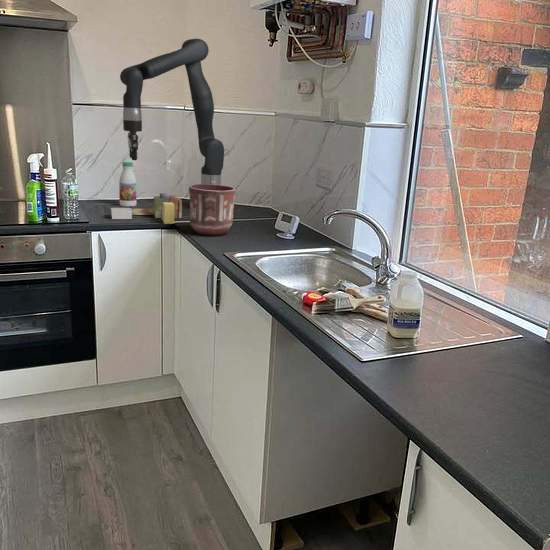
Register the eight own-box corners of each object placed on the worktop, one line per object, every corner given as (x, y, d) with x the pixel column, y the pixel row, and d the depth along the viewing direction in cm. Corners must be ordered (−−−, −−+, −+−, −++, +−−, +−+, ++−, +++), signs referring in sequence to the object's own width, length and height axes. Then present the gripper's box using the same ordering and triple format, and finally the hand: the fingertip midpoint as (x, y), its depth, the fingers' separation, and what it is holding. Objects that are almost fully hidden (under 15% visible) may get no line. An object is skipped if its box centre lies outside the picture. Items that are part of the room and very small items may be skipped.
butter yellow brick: (171, 221, 240) (172, 202, 238) (174, 223, 236) (174, 204, 234) (162, 221, 239) (162, 202, 237) (164, 223, 235) (164, 204, 232)
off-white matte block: (130, 217, 244) (130, 207, 242) (131, 220, 238) (131, 210, 237) (111, 217, 241) (111, 207, 240) (112, 220, 236) (111, 210, 235)
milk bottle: (118, 204, 269) (117, 161, 263) (134, 203, 272) (134, 161, 266) (121, 207, 262) (120, 163, 256) (138, 206, 265) (137, 163, 260)
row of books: (180, 215, 253) (180, 192, 250) (184, 218, 246) (184, 195, 243) (110, 215, 243) (110, 192, 240) (112, 219, 236) (111, 195, 233)
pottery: (196, 238, 213) (198, 190, 208) (182, 228, 228) (183, 183, 223) (240, 237, 221) (242, 190, 216) (223, 227, 236) (225, 183, 231)
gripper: (143, 120, 229) (144, 161, 234) (139, 118, 242) (140, 157, 247) (124, 119, 227) (125, 160, 232) (121, 118, 240) (122, 157, 244)
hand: (133, 159), depth 239 cm, fingers open, 8 cm apart
